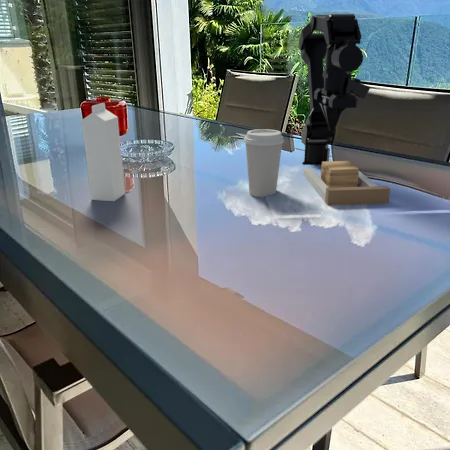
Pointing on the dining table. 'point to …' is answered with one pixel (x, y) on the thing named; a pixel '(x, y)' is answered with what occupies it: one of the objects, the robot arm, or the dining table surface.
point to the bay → (348, 191)
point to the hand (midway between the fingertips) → (331, 131)
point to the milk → (103, 154)
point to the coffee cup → (263, 160)
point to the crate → (339, 174)
